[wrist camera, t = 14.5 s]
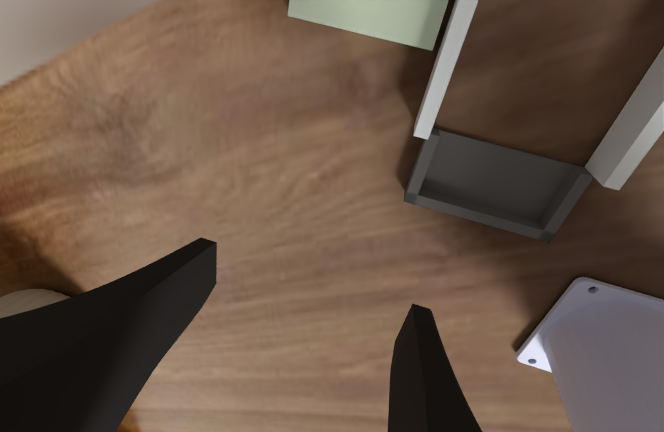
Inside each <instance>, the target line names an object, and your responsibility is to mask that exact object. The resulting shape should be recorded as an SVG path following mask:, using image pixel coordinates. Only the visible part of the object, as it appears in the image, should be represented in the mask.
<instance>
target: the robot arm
mask: <svg viewBox="0 0 664 432" xmlns="http://www.w3.org/2000/svg"><path fill="white" fill-rule="evenodd" d="M216 252H217V242H213V241H210V240H207V239H204V238H199V239H197V240H195V241H193V242H191V243H190V244H188V245H186V246H184V247H182V248H180V249H178V250H176V251H174V252H173V253H171V254H169V255H167V256H165V257H163V258H161V259H159V260H157V261H155V262H153V263H151V264H149V265H147V266H145V267H143V268H141V269H139V270H137V271H135V272H132V273H130V274H128V275H126V276H124V277H121V278H119V279H117V280H115V281H113V282H110V283H108V284H105V285H103V286H100V287H98V288H95V289H93V290H90V291H87V292H85V293H82V294H79V295H77V296H74V297H71V298H68V299H65V300H62V301H58V302H55V303H52V304H49V305H46V306H43V307H40V308H36V309H33V310H29V311H26V312H22V313H18V314H15V315H11V316H7V317H3V318H0V432H116V430H117V428H118V427H119V425H120V423H121V422H122V420H123V418H124V417H125V415H126V413H127V412H128V410H129V409H130V407H131V405H132V404H133V402H134V400H135V399H136V397H137V396H138V394H139V392H140V391H141V389H142V388H143V386H144V385H145V383H146V381H147V380H148V378H149V377H150V375H151V374H152V372H153V371H154V369H155V368H156V366H157V365H158V364H159V362H160V361H161V359H162V358H163V357H164V356H165V354H166V353H167V352H168V350H169V349H170V348H171V347H172V345H173V344H174V343H175V341H176V340H177V339H178V338H179V336H180V335H181V334H182V333H183V331H184V330H185V329H186V327H187V326H188V325H189V324H190V322H191V321H192V320H193V318H194V317H195V316H196V315H197V313H198V312H199V311H200V309H201V308H202V306H203V305H204V303H205V302H206V300H207V298H208V297H209V295H210V293H211V292H212V290H213V288H214V286H215V285H216ZM590 287H594V288H593V289H589V288H590ZM516 357H517V360H518V361H519V362H521V363H524V364H527V365H530V366H534V367H537V368H540V369H543V370H546V371H549V372H552V374H553V377H554V380H555V383H556V386H557V388H558V391H559V394H560V397H561V400H562V403H563V406H564V409H565V412H566V415H567V418H568V421H569V424H570V426H571V429H572V432H664V300H663V299H659V298H656V297H652V296H649V295H646V294H642V293H639V292H635V291H632V290H628V289H625V288H621V287H618V286H615V285H611V284H608V283H604V282H601V281H597V280H594V279H591V278H587V277H579V278H577V279H575V280H574V281H573V282H572V283H571V285H570V286H569V287H568V288H567V290H566V291H565V292H564V293H563V295H562V296H561V297H560V298H559V300H558V301H557V302H556V303H555V305H554V306H553V307H552V309H551V310H550V311H549V312H548V314H547V315H546V316H545V317H544V319H543V320H542V321H541V322H540V324H539V325H538V326H537V327H536V329H535V330H534V331H533V332H532V334H531V335H530V336H529V337H528V339H527V340H526V341H525V342H524V344H523V345H522V346H521V347H520V349H519V350H518V351H517V353H516ZM388 432H482V430H481V429H480V427H479V425H478V423H477V421H476V419H475V417H474V415H473V413H472V411H471V409H470V407H469V405H468V403H467V401H466V399H465V397H464V395H463V393H462V390H461V388H460V386H459V384H458V382H457V379H456V377H455V375H454V372H453V370H452V367H451V365H450V362H449V360H448V357H447V355H446V352H445V349H444V347H443V344H442V341H441V338H440V335H439V332H438V330H437V326H436V323H435V320H434V317H433V314H432V311H431V310H430V309H428V308H425V307H422V306H419V305H415V304H412V306H411V308H410V310H409V312H408V315H407V317H406V319H405V321H404V323H403V325H402V328H401V330H400V332H399V334H398V336H397V338H396V341H395V345H394V351H393V357H392V364H391V372H390V393H389V417H388Z"/></svg>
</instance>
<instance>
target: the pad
mask: <svg viewBox="0 0 664 432" xmlns="http://www.w3.org/2000/svg"><path fill="white" fill-rule="evenodd" d="M448 1H449V0H289V8H288V16H290V17H294V18H298V19H302V20H307V21H311V22H315V23H319V24H323V25H327V26H331V27H336V28H340V29H344V30H348V31H352V32H356V33H360V34H364V35H369V36H373V37H377V38H381V39H385V40H389V41H393V42H398V43H402V44H406V45H410V46H414V47H418V48H422V49H427V50H431V51H433V48H434V45H435V41H436V38H437V35H438V32H439V29H440V26H441V23H442V20H443V17H444V13H445V10H446V7H447V4H448Z"/></svg>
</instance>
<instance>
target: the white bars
mask: <svg viewBox="0 0 664 432" xmlns="http://www.w3.org/2000/svg"><path fill="white" fill-rule="evenodd" d="M477 3H478V0H455V3H454V6H453V9H452V12H451V15H450V18H449V21H448V24H447V27H446V30H445V33H444V36H443V39H442V42H441V45H440V48H439V51H438V54H437V57H436V60H435V63H434V66H433V69H432V72H431V75H430V78H429V82H428V85H427V88H426V91H425V94H424V97H423V100H422V103H421V106H420V109H419V112H418V115H417V118H416V121H415V126H414V135H413V136H416V137H419V138H423V139H427V140H428V138H429V136H430V133H431V130H432V127H433V125H434V122H435V119H436V116H437V114H438V111H439V108H440V105H441V102H442V100H443V97H444V94H445V91H446V89H447V86H448V83H449V80H450V78H451V75H452V72H453V69H454V67H455V64H456V61H457V58H458V56H459V53H460V50H461V47H462V44H463V42H464V39H465V36H466V33H467V31H468V28H469V25H470V22H471V20H472V17H473V14H474V11H475V9H476V6H477ZM663 131H664V47H663V48H662V50H661V51H660V53H659V54H658V56H657V57H656V59H655V60H654V62H653V63H652V65H651V66H650V68H649V69H648V71H647V72H646V74H645V76H644V77H643V79H642V80H641V82H640V83H639V85H638V86H637V88H636V89H635V91H634V92H633V94H632V95H631V97H630V98H629V100H628V101H627V103H626V105H625V106H624V108H623V109H622V111H621V112H620V114H619V115H618V117H617V118H616V120H615V121H614V123H613V124H612V126H611V127H610V129H609V130H608V132H607V134H606V135H605V137H604V138H603V140H602V141H601V143H600V144H599V146H598V147H597V149H596V150H595V152H594V153H593V155H592V156H591V158H590V159H589V161H588V162H587V164H586V166H585V167H584V168H585V169H586V170H587V171H588V172H589V173H590V174H591V175H592V176H593V177H594V178H595V179H596V180H597V181H598V182H599V183H600V184H601V185H602V186H604V187H607V188H611V189H615V190H620V189H621V187H622V186H623V185H624V183H625V182H626V181H627V179H628V178H629V177H630V175H631V174H632V172H633V171H634V170H635V168H636V167H637V166H638V164H639V163H640V162H641V160H642V159H643V158H644V156H645V155H646V154H647V152H648V151H649V150H650V148H651V147H652V146H653V144H654V143H655V142H656V140H657V139H658V138H659V136H660V135H661V134H662V132H663Z"/></svg>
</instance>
